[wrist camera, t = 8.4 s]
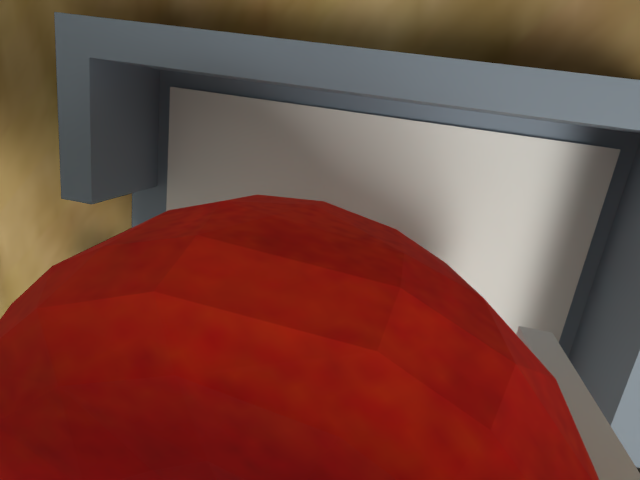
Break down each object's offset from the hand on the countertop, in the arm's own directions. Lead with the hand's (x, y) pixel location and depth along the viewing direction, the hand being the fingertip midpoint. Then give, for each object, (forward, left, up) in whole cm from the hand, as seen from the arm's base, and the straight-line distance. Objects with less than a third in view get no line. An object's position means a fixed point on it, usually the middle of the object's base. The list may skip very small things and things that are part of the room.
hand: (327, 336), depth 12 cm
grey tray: (0, 0, -5) cm, 5 cm away
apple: (0, 0, 0) cm, 0 cm away
